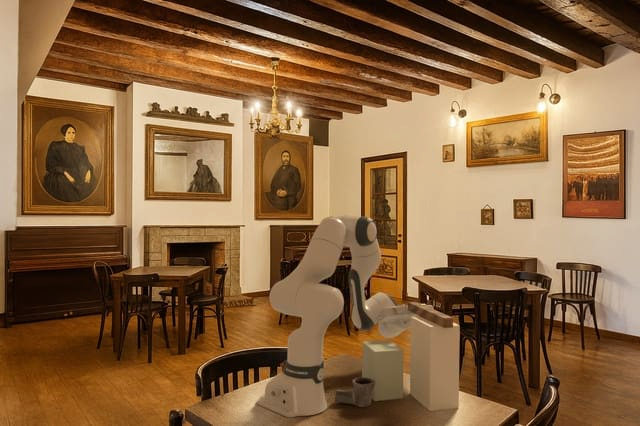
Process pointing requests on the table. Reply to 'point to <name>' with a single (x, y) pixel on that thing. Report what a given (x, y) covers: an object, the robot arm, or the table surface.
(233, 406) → the table surface
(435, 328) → the tall stand
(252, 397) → the table surface
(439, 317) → the walnut bar
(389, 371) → the low stool
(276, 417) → the table surface
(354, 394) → the pipe
